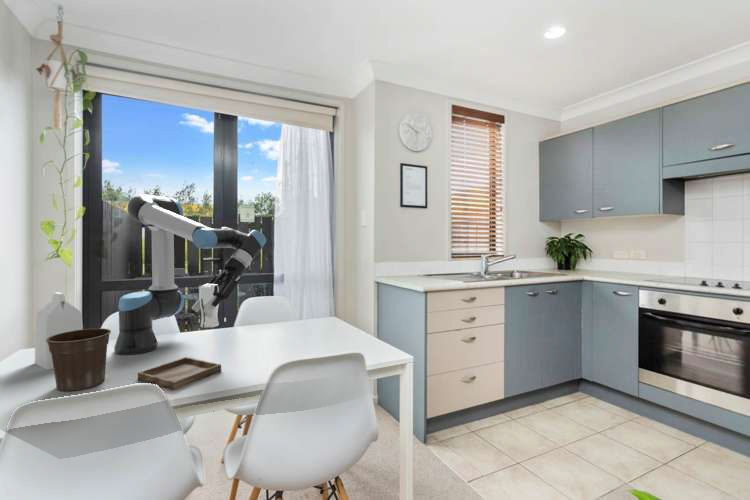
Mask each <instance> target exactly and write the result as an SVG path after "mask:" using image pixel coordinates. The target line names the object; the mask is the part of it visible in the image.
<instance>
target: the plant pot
mask: <svg viewBox="0 0 750 500" xmlns="http://www.w3.org/2000/svg"><path fill="white" fill-rule="evenodd" d="M111 333H112V330H111V329H109V328H101V327H100V328H83V330H75V331H69V332H64V333H60V334H56V335H53V336H50V337H48V338H47V339H46V342H48V345H49V351H50V353H51V355H52V361H53V367H54V368H53V372H54V378H55V384H56V389H57V390H58V391H60V392H69V391H70V390H73V391H81V390H84V389H85V390H86V389H89V388H93V387H96V386H97V385H99V384H101V383H102V382H104V381H105V379H106V365H107V354H108V353H107V351H108V345H109V339H110V334H111Z"/></svg>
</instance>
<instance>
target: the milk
mask: <svg viewBox="0 0 750 500" xmlns="http://www.w3.org/2000/svg"><path fill="white" fill-rule="evenodd" d="M82 314H83V313H82V312H81V311H80V309H78V308H77V307H75V306H74V305H72V304H70V303H69V302H67V301H66V298H65V293H64V292H58V291H57V292H56V291H55V292H53V294H52V299H51V300H50V301H48V302H47V303H46V304H45V305H44V306H43V307H42V308H40V309H39V310H38V311H37V313H36V314H35V335H34V336H35V338H34V339H35V340H34V343H35V344H34V345H35V346H34V364H35V365H37V366H39V367H41V368H42V369H45V370H46V371H48V370H52V369H54V367H53V361H52V355H51V353H50V351H49V345H48V342H46V339H47V338H48V337H50V336H53V335H56V334H60V333H64V332H69V331H75V330H83V329H84V326H83V315H82Z"/></svg>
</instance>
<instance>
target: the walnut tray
mask: <svg viewBox="0 0 750 500" xmlns="http://www.w3.org/2000/svg"><path fill="white" fill-rule="evenodd" d="M221 372H222V364H221V363H217V362H216V363H215V362H211V361H206V360H201V359H197V358H193V357H189V356H185V357H182V358H178V359H176V360H172V361H169V362H168V363H167V362H166V363H163V364H161V365H158V366H154V367H151V368H148V369H144V370H142V371H139V372H137V381H139V382H142V383H145V382H147V383H146V384H149V383H153V384H157V385H159V386H158V387H159V388H164V389H167V390H170V391H176V390H180V389H181V388H184V387H187V386H189V385H192V384H194V383H196V382H199V381H201V380H204V379H207V378H209V377H211V376H213V375H217V374H219V373H221ZM153 384H152V385H153Z"/></svg>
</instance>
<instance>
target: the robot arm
mask: <svg viewBox="0 0 750 500" xmlns="http://www.w3.org/2000/svg"><path fill="white" fill-rule="evenodd" d="M183 209H184V208H183V207H182V204H181V203H180V202H179V201H178V200H177V199H176V198H173V197H168V196H161V195H151V194H139V195H136V196H134V197H133V198H131V199H130V200H129V201H128V204H127V212H128V215H129V217H131V219H133V220H135V222H138V223H140V224H143V225H146V226H147V228H148V229H149V230H150V231H151V272H152V273H151V277H152V278H151V281H152V282H151V283H152V284H151V285H150V286H149V287H148V291H146V290H144V291H143V290H142V291H135V292H131V293H127V294H124V295H122V296H121V297H120V298H119V300H118V307H117V309H118V335H117V338H116V341H115V344H114V347H113V348H114V349H113V350H114V351H113V352H114V354H116V355H121V356H131V355H137V354H138V355H139V354H143V353H149V352H151V351H155V350H156V349H157V348H158V340H157V337H156V335H155V332H154V330H153V329H154V328H153V321H157V320H161V319H164V318H170V317H172V316H175V315H177V314H178V313H180V312H181V311H182V310H183V307H184V305H185V297H184V294H183V293H182V291H180V290H179V286H178V285H177V284H176V283H175V247H174V245H175V243H174V242H175V238H174V237H175V236H174V235H176V236H178V237H179V238H180V237H181V238H183V239H185V240H188V241H190V242H192V243H193V244H194V246H195V247H196V248H198V249H205V250H210V249H227V248H229V249H234V252H233V253H232V254H231V255H230V257H229V258H228V259H227V261H226V262H225V263H224V265H223V266H224V269H223V270H222V271H221V272H218V271H216V272H215V273H214V274H213V276H212V277H211V278H210V280H208V282H207V283H206V284H217V285H218V288H219V287H220V288H219V292H218V294H215V295H216V296H217V297H216V296H214V297H213V298H212V300H211V301H210V302H209V304H208V305H207V306H206V307H205V309H204V310H203V311H204V312H205V313H206V314H208V315H210V314H211V312H212V311H213V310H214V308H215V307H216V306H217V305H218V304H219V305H220V302H221V301H223V300H227V299H228V298H229V297H230V295H231V293H232V292H233V291H234V289H235V287H236V286H237V285H238V283H239V282H240V281H241V280H242V277H241V276H242V275H243V274H244V272H245V271H246V270H247V268H248V267H249V266H250V264H251V263H252V262H253V260H254V259H255V258H256V256H257V255H258V254H259V252H261V250H262V249H263V247H264V246H265V244H266V243H267V238H266V235H264V234H263V233H262V232H261V231H259V230H256V229H252V230H251V231H250V232H249V233H246V232H242V231H240V230H237V229H234V228H232V227H227V226H222V227H221V228H211V227H210V226H206V225H204V224H202V223H199V222H196V221H194V220H192V219H189V218H187V217H185V216H184V210H183ZM191 310H193V311H195V312H196V313H199V312H200V311H201V310H200V305H199V298H197V300H196V302H194V304H193V305H192V306H191Z"/></svg>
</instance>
